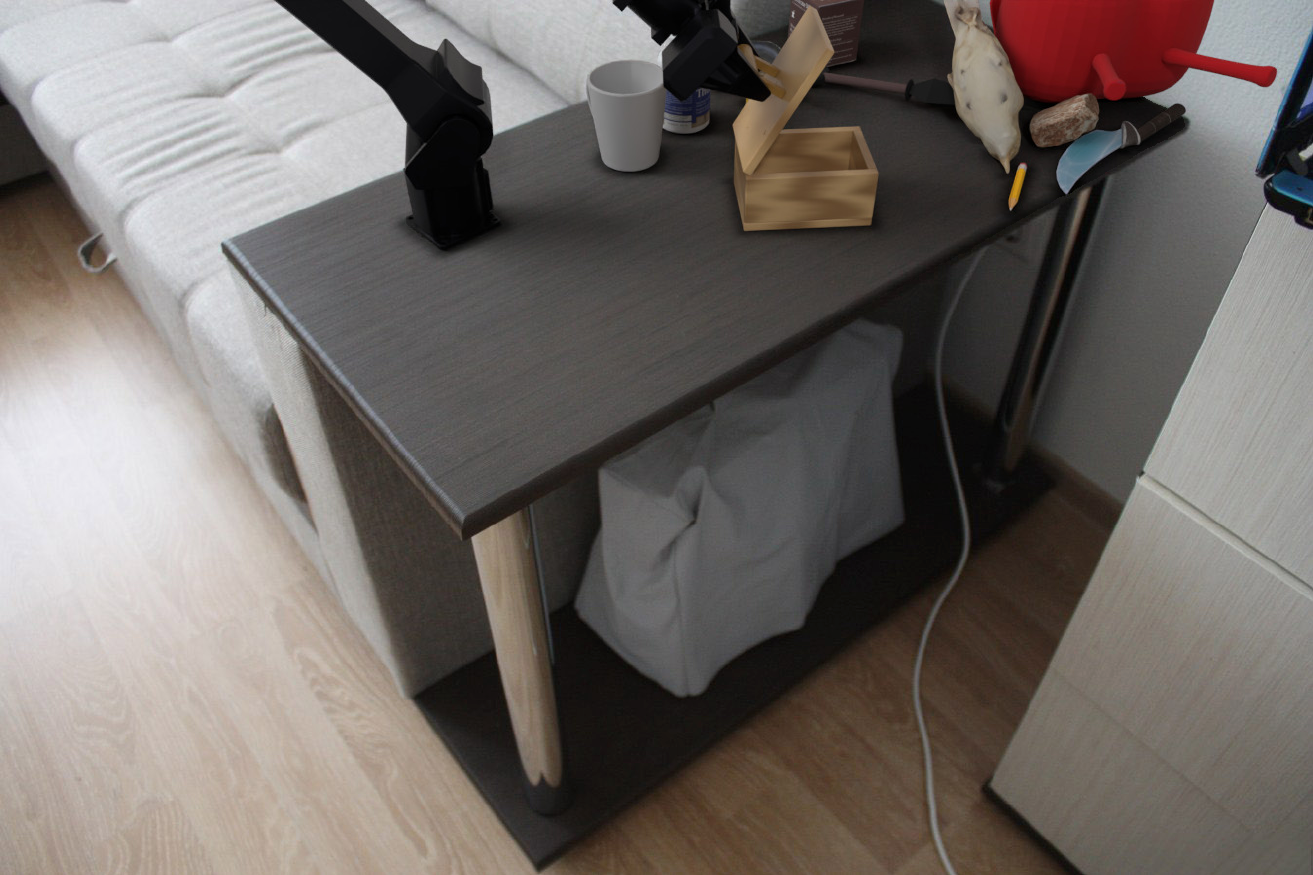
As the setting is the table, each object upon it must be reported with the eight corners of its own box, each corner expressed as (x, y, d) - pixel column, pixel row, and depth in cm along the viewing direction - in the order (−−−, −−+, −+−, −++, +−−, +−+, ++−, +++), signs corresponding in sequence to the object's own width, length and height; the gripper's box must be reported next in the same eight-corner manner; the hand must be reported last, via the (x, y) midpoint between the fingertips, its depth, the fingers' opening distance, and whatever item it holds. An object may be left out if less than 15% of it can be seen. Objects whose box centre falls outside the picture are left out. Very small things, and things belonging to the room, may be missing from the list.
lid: (817, 9, 88) (768, -19, 86) (835, 52, 82) (783, 23, 80) (739, 128, 95) (693, 105, 93) (750, 176, 89) (701, 152, 87)
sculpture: (910, -27, 106) (932, -5, 110) (968, 181, 99) (988, 197, 103) (966, -62, 102) (986, -38, 106) (1030, 151, 95) (1049, 169, 99)
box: (785, 51, 120) (790, -13, 114) (829, 41, 121) (836, -22, 116) (812, 72, 116) (818, 6, 110) (857, 61, 117) (866, -4, 112)
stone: (1068, 142, 107) (1035, 107, 107) (1115, 104, 103) (1081, 67, 102) (1054, 168, 102) (1019, 132, 102) (1102, 129, 98) (1066, 91, 98)
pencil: (1017, 167, 100) (1023, 171, 100) (1004, 211, 94) (1010, 215, 94) (1022, 161, 99) (1028, 164, 99) (1009, 205, 93) (1016, 209, 93)
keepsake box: (853, 177, 99) (859, 126, 95) (871, 225, 93) (879, 173, 89) (733, 182, 99) (735, 131, 95) (743, 231, 93) (746, 179, 89)
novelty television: (1130, -69, 114) (1324, 4, 91) (1100, 50, 122) (1271, 144, 99) (957, -59, 111) (1113, 19, 88) (938, 62, 119) (1075, 163, 95)
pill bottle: (705, 137, 105) (706, 44, 98) (653, 133, 106) (652, 40, 99) (713, 113, 109) (715, 21, 102) (664, 109, 110) (663, 18, 103)
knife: (1023, 183, 99) (1069, 204, 96) (1027, 168, 97) (1074, 189, 95) (1138, 101, 108) (1183, 118, 106) (1143, 87, 107) (1189, 104, 105)
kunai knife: (1032, 135, 102) (1036, 105, 99) (787, 93, 115) (786, 65, 112) (1047, 115, 104) (1051, 85, 102) (805, 76, 117) (804, 48, 114)
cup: (624, 187, 98) (620, 103, 93) (563, 148, 104) (555, 67, 98) (684, 160, 102) (684, 78, 96) (621, 124, 108) (618, 44, 102)
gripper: (705, -88, 69) (854, 63, 77) (693, -165, 83) (821, -30, 90) (598, 34, 75) (747, 163, 82) (603, -57, 88) (730, 61, 96)
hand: (764, 83), depth 87 cm, fingers closed on lid, 5 cm apart
